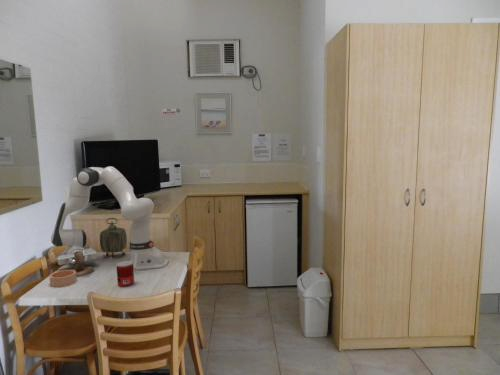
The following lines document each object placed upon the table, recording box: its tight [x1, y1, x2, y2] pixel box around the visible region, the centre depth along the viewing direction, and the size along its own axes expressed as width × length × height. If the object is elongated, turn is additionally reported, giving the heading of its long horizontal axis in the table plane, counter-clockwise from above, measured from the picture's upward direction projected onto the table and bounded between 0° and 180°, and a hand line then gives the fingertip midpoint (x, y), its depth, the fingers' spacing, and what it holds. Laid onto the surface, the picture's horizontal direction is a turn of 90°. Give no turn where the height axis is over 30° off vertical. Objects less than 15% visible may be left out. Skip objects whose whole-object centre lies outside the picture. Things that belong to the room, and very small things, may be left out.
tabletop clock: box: [99, 217, 128, 258], centre depth 228 cm, size 14×9×25 cm, turn 91°
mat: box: [70, 266, 100, 278], centre depth 201 cm, size 16×16×1 cm
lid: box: [69, 252, 94, 278], centre depth 200 cm, size 14×14×11 cm
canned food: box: [116, 260, 135, 288], centre depth 182 cm, size 8×8×11 cm
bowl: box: [48, 269, 78, 288], centre depth 185 cm, size 12×12×5 cm
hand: (79, 261), depth 199 cm, fingers closed on lid, 4 cm apart
